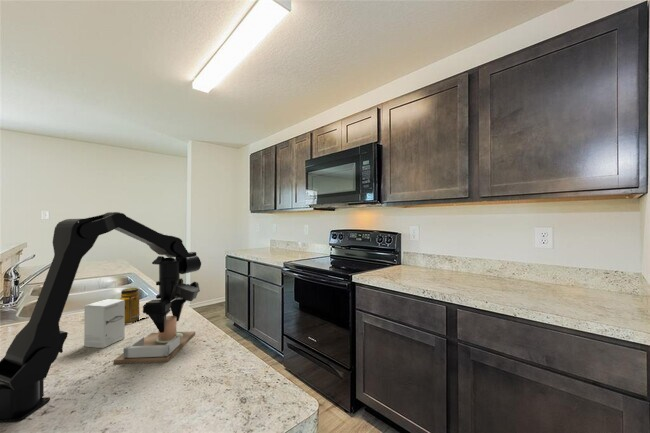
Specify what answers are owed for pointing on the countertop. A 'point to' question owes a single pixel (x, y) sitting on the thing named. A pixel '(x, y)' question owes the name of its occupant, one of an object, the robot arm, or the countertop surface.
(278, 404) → the countertop surface
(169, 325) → the stub
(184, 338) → the board
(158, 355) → the frame
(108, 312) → the supplement box
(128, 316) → the condiment
